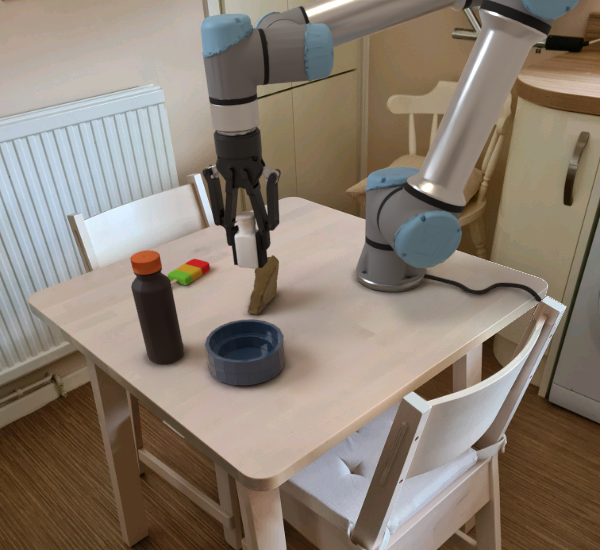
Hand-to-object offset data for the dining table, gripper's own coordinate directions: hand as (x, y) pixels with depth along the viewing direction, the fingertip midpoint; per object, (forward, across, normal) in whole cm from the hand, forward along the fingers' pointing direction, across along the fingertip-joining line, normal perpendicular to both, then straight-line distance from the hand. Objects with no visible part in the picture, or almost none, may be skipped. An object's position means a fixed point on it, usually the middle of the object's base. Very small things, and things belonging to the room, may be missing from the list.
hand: (250, 262), depth 113 cm
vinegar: (+14, +14, +13) cm, 23 cm away
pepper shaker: (+1, 0, 0) cm, 1 cm away
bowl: (+14, -3, +12) cm, 19 cm away
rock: (+14, +3, -10) cm, 18 cm away
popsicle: (+14, +24, -15) cm, 32 cm away
